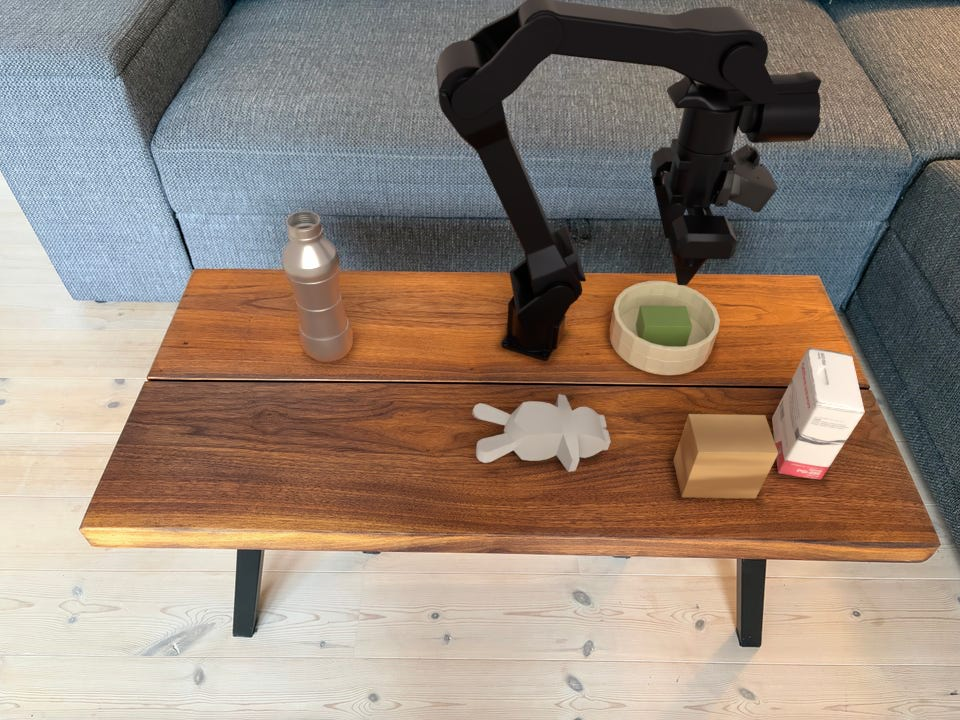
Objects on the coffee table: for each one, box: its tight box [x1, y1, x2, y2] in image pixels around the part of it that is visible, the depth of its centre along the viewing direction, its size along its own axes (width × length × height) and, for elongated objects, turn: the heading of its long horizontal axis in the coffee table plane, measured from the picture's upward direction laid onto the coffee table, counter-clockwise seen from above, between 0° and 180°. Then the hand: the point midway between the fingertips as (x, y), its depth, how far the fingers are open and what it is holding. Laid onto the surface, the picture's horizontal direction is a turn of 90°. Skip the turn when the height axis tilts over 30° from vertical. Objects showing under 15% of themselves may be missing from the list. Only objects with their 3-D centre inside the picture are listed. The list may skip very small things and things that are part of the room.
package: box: [636, 305, 692, 346], centre depth 93 cm, size 4×6×4 cm, turn 90°
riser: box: [673, 413, 778, 499], centre depth 76 cm, size 5×8×8 cm, turn 89°
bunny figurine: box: [471, 393, 612, 473], centre depth 80 cm, size 10×5×15 cm
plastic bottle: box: [280, 210, 354, 363], centre depth 85 cm, size 6×7×20 cm
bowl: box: [609, 280, 721, 376], centre depth 93 cm, size 13×13×4 cm
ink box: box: [771, 347, 866, 481], centre depth 78 cm, size 9×5×12 cm, turn 168°
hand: (675, 260), depth 87 cm, fingers open, 9 cm apart
